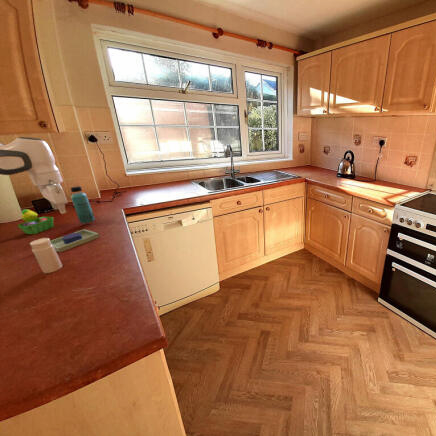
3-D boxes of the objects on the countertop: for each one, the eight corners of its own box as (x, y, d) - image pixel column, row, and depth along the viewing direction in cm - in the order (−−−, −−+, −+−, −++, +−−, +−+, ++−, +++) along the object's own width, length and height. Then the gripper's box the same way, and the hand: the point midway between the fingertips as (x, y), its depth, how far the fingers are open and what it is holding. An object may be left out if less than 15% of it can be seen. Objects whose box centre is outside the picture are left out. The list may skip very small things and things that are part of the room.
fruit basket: (32, 235, 117) (22, 214, 112) (18, 234, 118) (7, 213, 114) (58, 226, 127) (49, 205, 123) (45, 225, 129) (35, 205, 124)
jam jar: (47, 274, 85) (32, 246, 81) (39, 271, 88) (25, 243, 83) (65, 266, 90) (53, 239, 86) (58, 263, 92) (45, 236, 88)
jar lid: (85, 237, 112) (83, 232, 111) (75, 243, 106) (73, 238, 105) (71, 238, 111) (69, 233, 110) (60, 244, 106) (58, 239, 105)
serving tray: (59, 252, 100) (57, 248, 99) (45, 247, 105) (43, 242, 104) (99, 237, 113) (98, 233, 112) (85, 232, 118) (84, 229, 117)
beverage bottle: (78, 225, 127) (63, 188, 120) (91, 220, 133) (78, 185, 125) (86, 226, 125) (71, 189, 117) (99, 222, 131) (86, 185, 123)
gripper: (65, 180, 95) (77, 213, 100) (50, 175, 106) (62, 204, 111) (43, 183, 90) (57, 218, 95) (30, 177, 101) (44, 208, 107)
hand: (60, 211), depth 103 cm, fingers open, 8 cm apart
